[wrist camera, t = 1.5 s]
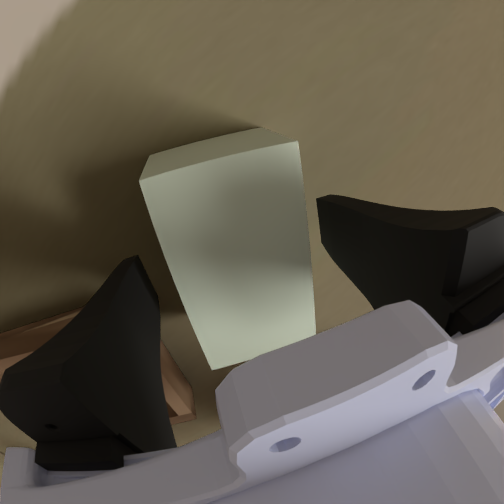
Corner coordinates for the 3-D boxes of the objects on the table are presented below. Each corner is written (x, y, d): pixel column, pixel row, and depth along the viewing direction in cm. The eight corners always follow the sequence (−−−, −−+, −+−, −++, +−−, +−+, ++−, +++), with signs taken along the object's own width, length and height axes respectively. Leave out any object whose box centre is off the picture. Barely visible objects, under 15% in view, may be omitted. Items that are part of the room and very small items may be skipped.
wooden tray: (191, 387, 18) (196, 418, 16) (52, 414, 16) (49, 440, 14) (133, 290, 13) (129, 324, 11) (-19, 339, 12) (-31, 366, 10)
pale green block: (260, 126, 12) (298, 140, 8) (285, 285, 16) (315, 338, 12) (150, 154, 11) (138, 180, 8) (200, 310, 15) (211, 370, 12)
